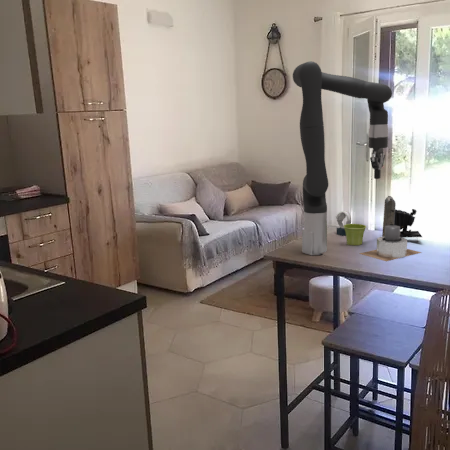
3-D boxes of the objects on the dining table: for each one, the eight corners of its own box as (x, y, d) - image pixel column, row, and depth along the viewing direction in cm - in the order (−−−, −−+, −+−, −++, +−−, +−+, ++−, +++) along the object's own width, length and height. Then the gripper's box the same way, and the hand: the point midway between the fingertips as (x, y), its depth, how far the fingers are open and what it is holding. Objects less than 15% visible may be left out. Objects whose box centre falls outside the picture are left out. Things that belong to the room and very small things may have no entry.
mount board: (386, 263, 187) (386, 261, 187) (358, 255, 199) (358, 253, 199) (421, 254, 197) (422, 252, 196) (393, 247, 209) (393, 245, 208)
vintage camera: (422, 246, 211) (425, 199, 207) (383, 244, 214) (386, 198, 210) (418, 241, 220) (421, 196, 216) (381, 239, 223) (384, 195, 219)
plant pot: (365, 243, 218) (365, 223, 216) (366, 248, 209) (366, 228, 207) (343, 242, 220) (343, 223, 218) (343, 248, 211) (343, 228, 209)
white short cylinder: (392, 259, 189) (393, 244, 187) (371, 253, 198) (371, 238, 196) (412, 254, 194) (412, 239, 193) (390, 249, 203) (390, 234, 202)
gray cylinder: (392, 249, 192) (393, 229, 190) (381, 246, 196) (381, 226, 195) (402, 247, 194) (403, 226, 193) (391, 244, 199) (391, 224, 197)
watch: (343, 232, 240) (343, 209, 237) (354, 235, 232) (354, 212, 230) (333, 233, 237) (334, 210, 235) (344, 236, 230) (344, 213, 228)
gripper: (374, 135, 210) (373, 176, 213) (363, 137, 199) (363, 180, 202) (392, 135, 205) (390, 177, 209) (382, 136, 195) (381, 180, 198)
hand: (377, 178), depth 206 cm, fingers closed
